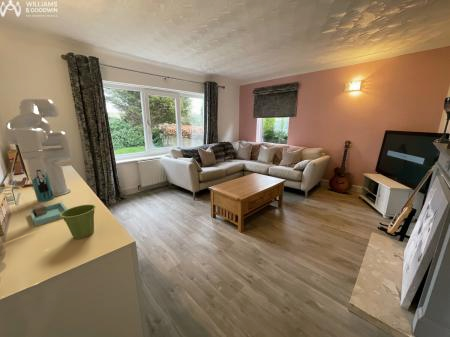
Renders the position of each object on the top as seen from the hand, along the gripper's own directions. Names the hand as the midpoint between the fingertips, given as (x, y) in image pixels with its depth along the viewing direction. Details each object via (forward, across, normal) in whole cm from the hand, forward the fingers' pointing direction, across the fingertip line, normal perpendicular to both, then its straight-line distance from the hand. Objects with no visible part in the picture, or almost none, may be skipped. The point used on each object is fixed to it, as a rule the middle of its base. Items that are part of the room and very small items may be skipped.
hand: (43, 190), depth 94 cm
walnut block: (+14, -8, -3) cm, 17 cm away
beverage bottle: (+7, 0, 0) cm, 7 cm away
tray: (+15, -2, 0) cm, 15 cm away
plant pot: (+15, +33, +6) cm, 37 cm away
